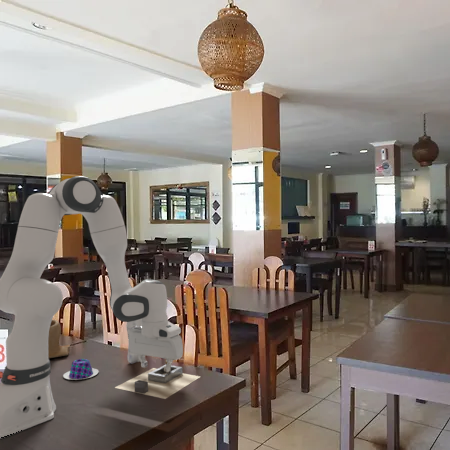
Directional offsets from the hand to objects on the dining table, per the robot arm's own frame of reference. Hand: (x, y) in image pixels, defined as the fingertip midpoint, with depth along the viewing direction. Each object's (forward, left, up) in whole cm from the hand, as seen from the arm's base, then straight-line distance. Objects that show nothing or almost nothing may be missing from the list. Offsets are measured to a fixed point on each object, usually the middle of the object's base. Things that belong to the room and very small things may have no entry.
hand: (155, 369), depth 148 cm
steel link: (+2, -2, -3) cm, 5 cm away
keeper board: (-2, -3, -5) cm, 6 cm away
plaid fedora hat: (-5, +29, -5) cm, 30 cm away
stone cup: (+4, +55, -5) cm, 55 cm away
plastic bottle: (+13, +19, -5) cm, 23 cm away
